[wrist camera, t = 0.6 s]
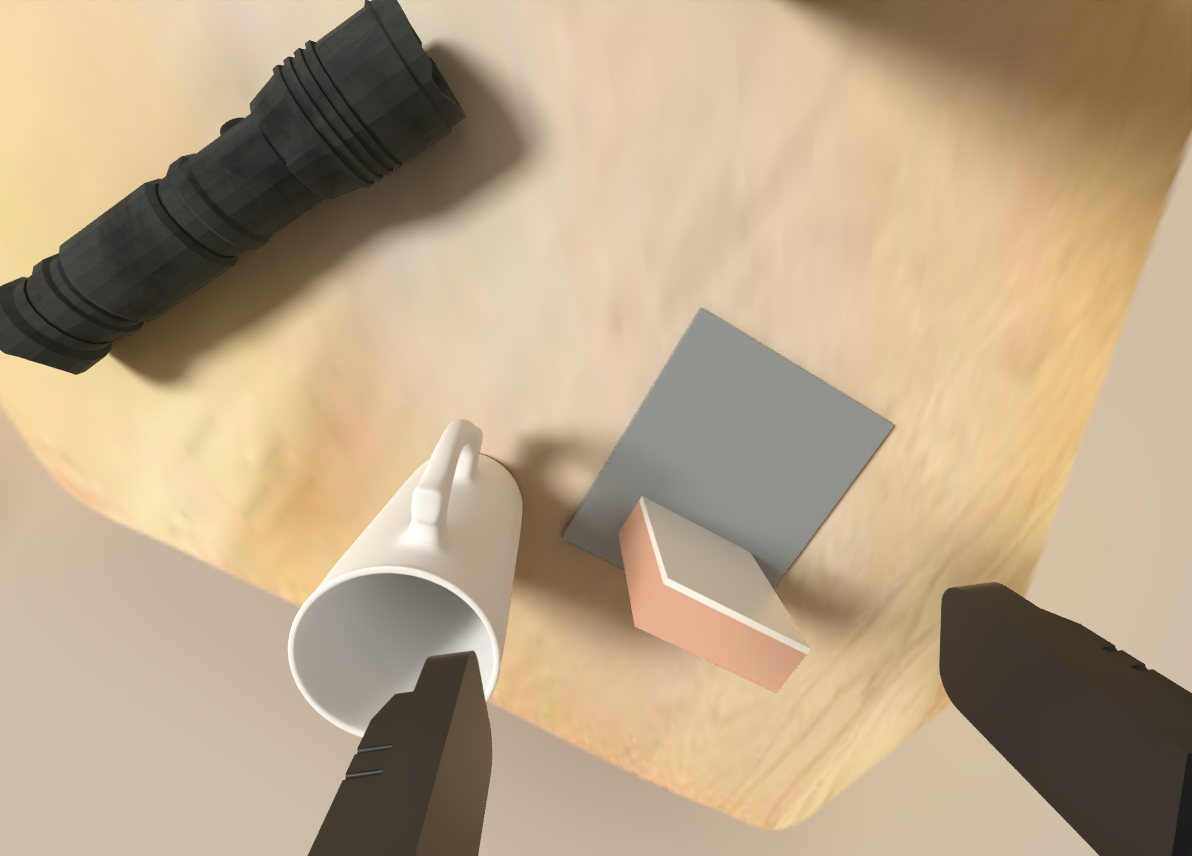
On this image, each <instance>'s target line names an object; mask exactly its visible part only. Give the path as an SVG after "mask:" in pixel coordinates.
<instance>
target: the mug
mask: <svg viewBox="0 0 1192 856" xmlns="http://www.w3.org/2000/svg"><path fill="white" fill-rule="evenodd" d="M481 444H482V431H481V430H480V428H478V427H477V426H475V425H474V424H473V423H472V422H470V421H468V420H464V419H456V420H454V421H453V422H452V423H451V424H450V425H449V426H448V427H447V429H446V430H445V432H444V433H443V435H442V437H441V439H440V440H439V442H438V444H437V446H436V448H435V450H434V452H433V454H432V456H431V458H430V459H429V460H427V461H426V462H425V463H423V464H422V465H421V466H420V467H419V468H418V469H417V470H416V471H415V472H414V473H413V474H412V475H411V477H410V478H409V479H408V480H407V481H406V482H405V483H404V484H403V485H402V486H401V488H400V489H399V490H398V491H397V492H396V494H395V495H394V496H393V497H392V498H391V500H390V501H389V502H388V503H387V504H386V506H385V507H384V508H383V509H382V510H381V512H380V513H379V514H378V515H377V516H376V517H375V519H374V520H373V521H372V522H371V523H370V525H369V526H368V527H367V528H366V529H365V530H364V532H363V533H362V534H361V535H360V536H359V537H358V539H357V540H356V541H355V542H354V543H353V545H352V546H351V547H350V548H349V549H348V550H347V552H346V553H345V554H344V555H343V556H342V557H341V559H340V560H339V561H338V562H337V563H336V565H335V566H334V567H333V568H332V570H331V571H330V572H329V573H328V575H327V576H326V577H325V579H324V580H323V581H322V583H321V584H320V585H319V587H318V588H317V589H316V591H315V592H314V593H313V594H312V595H311V596H310V597H309V598H308V599H307V600H306V601H305V603H304V604H303V605H302V607H301V608H300V610H299V612H298V613H297V615H296V617H295V619H294V622H293V624H292V628H291V631H290V635H289V642H288V656H289V663H290V668H291V671H292V674H293V677H294V680H295V681H296V684H297V686H298V687H299V689H300V691H301V692H302V694H303V696H304V697H305V698H306V700H307V701H308V702H309V703H310V705H311V706H312V707H313V708H314V709H315V710H316V711H317V712H318V713H320V714H321V715H322V716H323V717H324V718H326V719H327V720H328V721H330V722H331V723H333V724H334V725H336V726H338V727H339V728H341V729H343V730H345V731H347V732H349V733H352V734H354V735H356V736H359V737H362V738H363V736H364V734H365V731H366V729H367V727H368V725H369V723H370V721H371V719H372V718H373V717H374V716H375V715H376V714H377V713H378V712H379V711H380V709H381V708H382V707H383V706H384V705H385V704H386V703H387V702H388V701H389V700H390V699H391V698H392V697H393V696H394V695H395V694H397V693H405V692H412V691H414V689H415V686H416V684H417V681H418V678H419V676H420V673H421V671H422V668H423V666H424V663H425V661H426V659H427V658H428V657H429V656H435V655H443V654H450V653H458V652H465V651H474V652H475V653H476V656H477V659H478V663H479V668H480V674H481V679H482V685H483V690H484V695H485V701H486V703H487V701H488V700H489V698H490V697H491V695H492V693H493V691H494V689H495V686H496V683H497V680H498V677H499V672H500V664H501V660H502V655H503V649H504V643H505V637H506V630H507V624H508V616H509V609H510V602H511V595H512V588H513V580H514V573H515V566H516V559H517V553H518V546H519V540H520V532H521V522H522V513H523V503H522V497H521V493H520V490H519V488H518V485H517V483H516V481H515V480H514V478H513V477H512V475H511V474H510V473H509V472H508V471H507V470H506V469H505V468H504V467H503V466H502V465H501V464H499V463H498V462H497V461H495V460H493V459H491V458H489V457H487V456H485V455H482V454H480V449H481Z"/></svg>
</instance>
